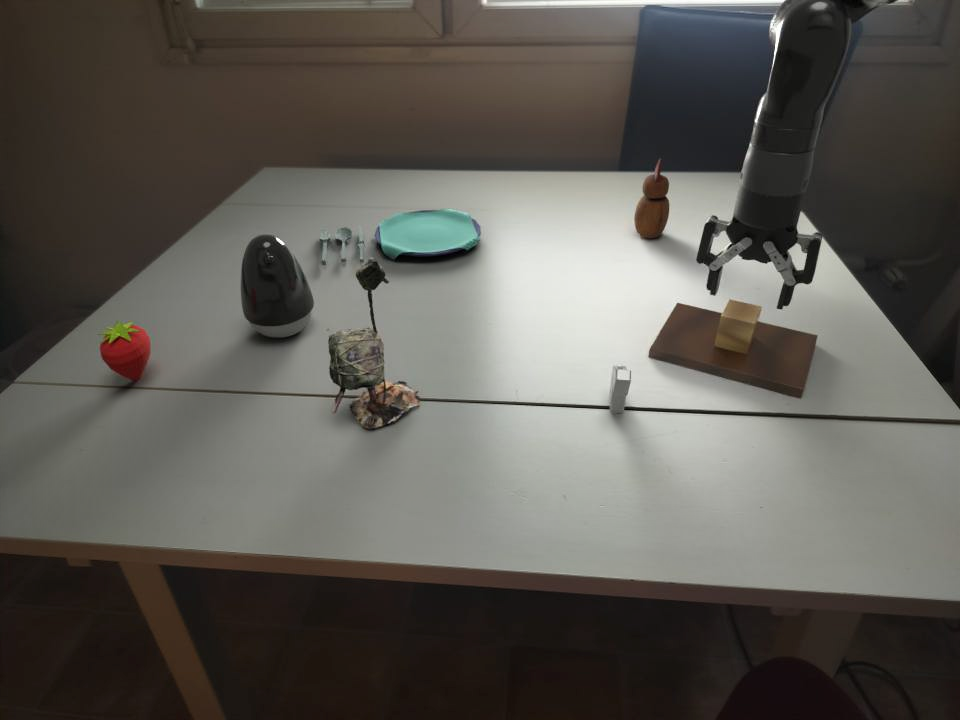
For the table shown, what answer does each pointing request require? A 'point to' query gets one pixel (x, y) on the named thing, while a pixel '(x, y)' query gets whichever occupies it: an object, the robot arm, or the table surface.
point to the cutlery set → (416, 234)
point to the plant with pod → (367, 365)
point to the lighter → (619, 388)
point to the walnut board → (768, 364)
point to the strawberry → (126, 350)
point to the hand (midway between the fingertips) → (746, 299)
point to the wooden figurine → (653, 205)
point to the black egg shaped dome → (274, 288)
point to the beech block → (737, 326)
